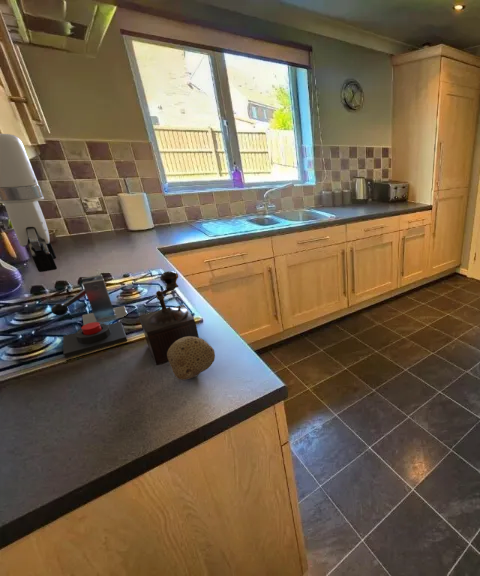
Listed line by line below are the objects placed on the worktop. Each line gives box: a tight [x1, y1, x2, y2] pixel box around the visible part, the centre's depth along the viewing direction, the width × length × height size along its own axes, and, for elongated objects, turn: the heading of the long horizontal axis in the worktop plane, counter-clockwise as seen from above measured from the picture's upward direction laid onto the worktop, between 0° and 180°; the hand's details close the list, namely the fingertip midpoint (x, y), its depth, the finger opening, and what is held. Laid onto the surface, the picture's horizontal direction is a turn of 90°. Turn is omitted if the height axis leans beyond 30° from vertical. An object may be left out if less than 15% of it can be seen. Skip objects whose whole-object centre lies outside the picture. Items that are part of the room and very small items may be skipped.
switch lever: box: [50, 278, 98, 316], centre depth 90 cm, size 13×3×3 cm, turn 131°
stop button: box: [81, 322, 102, 335], centre depth 83 cm, size 4×4×2 cm
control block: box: [62, 321, 129, 362], centre depth 84 cm, size 12×10×4 cm
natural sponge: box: [167, 336, 216, 381], centre depth 74 cm, size 9×9×10 cm
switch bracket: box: [81, 274, 128, 326], centre depth 94 cm, size 10×8×13 cm
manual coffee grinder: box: [138, 270, 200, 366], centre depth 83 cm, size 16×11×18 cm
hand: (48, 264), depth 81 cm, fingers open, 9 cm apart
